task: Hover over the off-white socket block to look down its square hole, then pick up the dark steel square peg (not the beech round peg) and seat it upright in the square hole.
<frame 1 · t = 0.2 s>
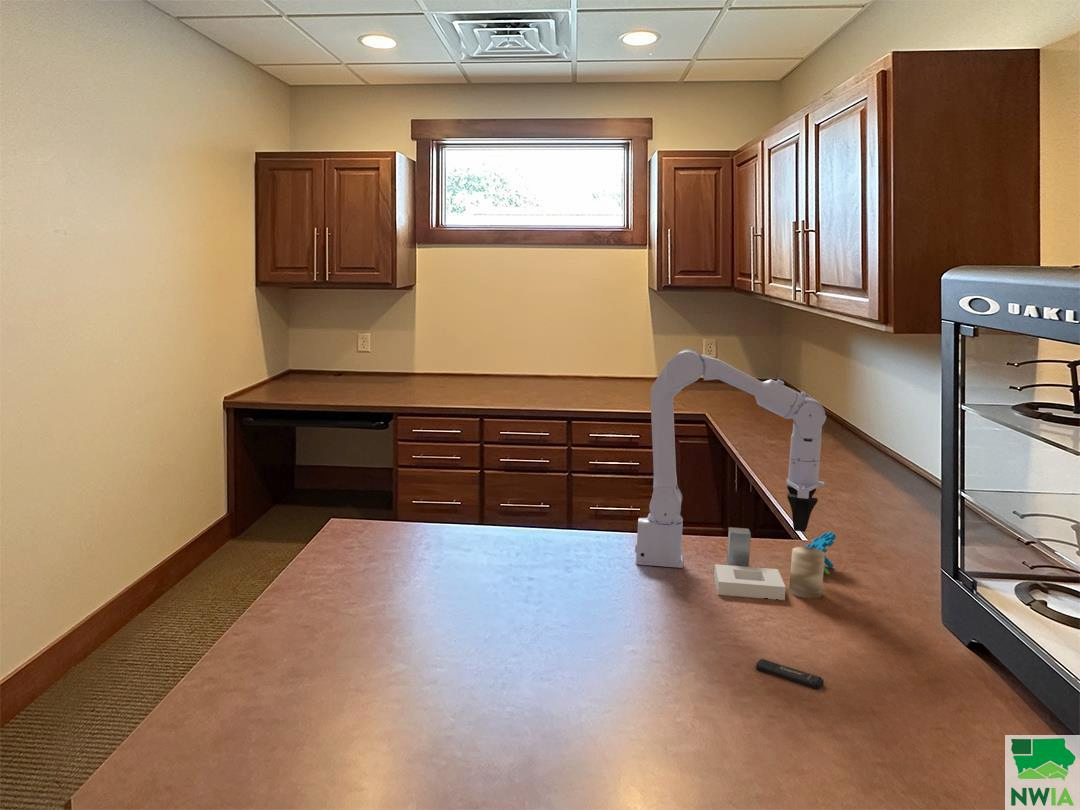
hand: (799, 525, 156), 10 cm above the worktop, tool pointing down, fingers open, 7 cm apart
round peg: (805, 592, 147), on the worktop
gear: (814, 568, 162), on the worktop
square peg: (737, 568, 160), on the worktop
socket block: (748, 587, 149), on the worktop
usb stick: (788, 680, 113), on the worktop
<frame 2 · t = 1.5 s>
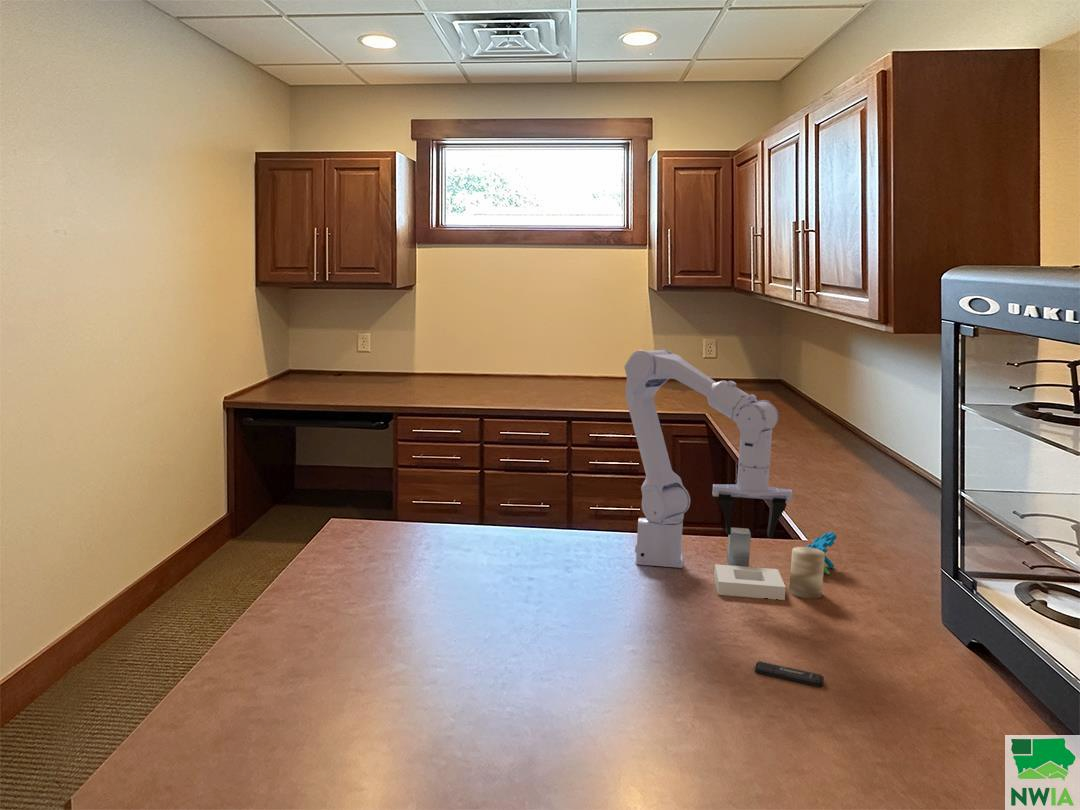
hand: (748, 535, 150), 10 cm above the worktop, tool pointing down, fingers open, 7 cm apart
nothing on the worktop moved.
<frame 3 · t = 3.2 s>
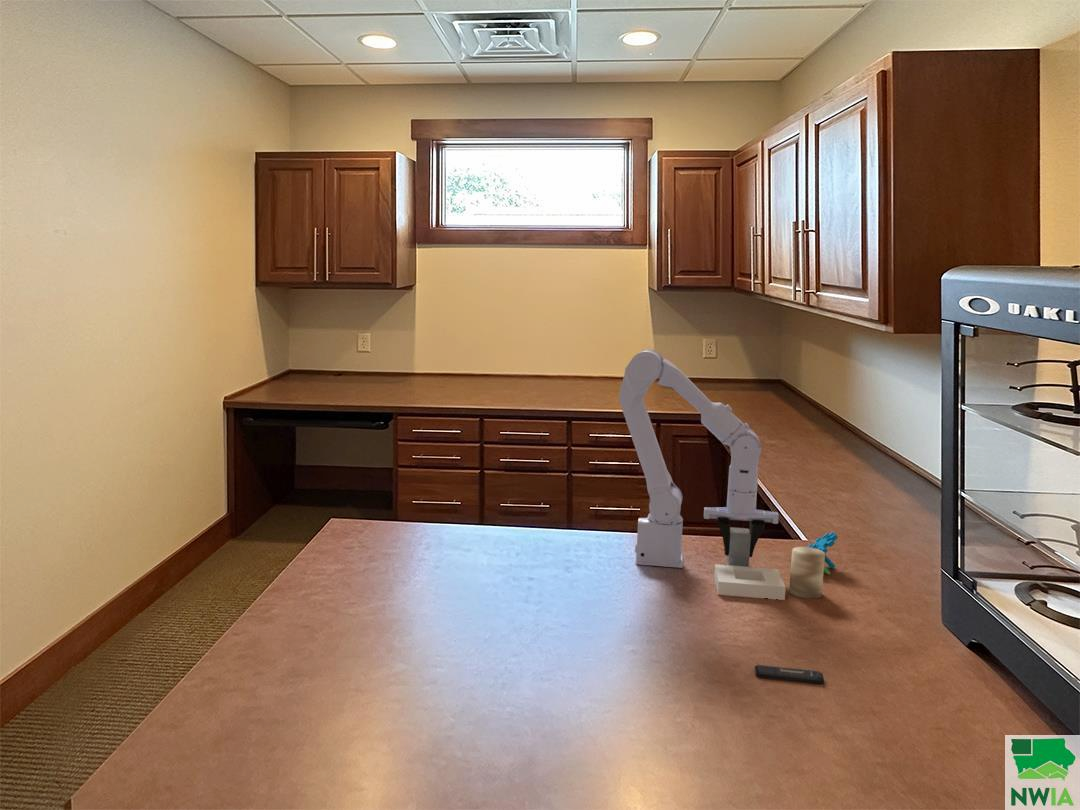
hand: (738, 554, 159), 3 cm above the worktop, tool pointing down, fingers closed on square peg, 4 cm apart
square peg: (737, 568, 160), on the worktop, touching gripper
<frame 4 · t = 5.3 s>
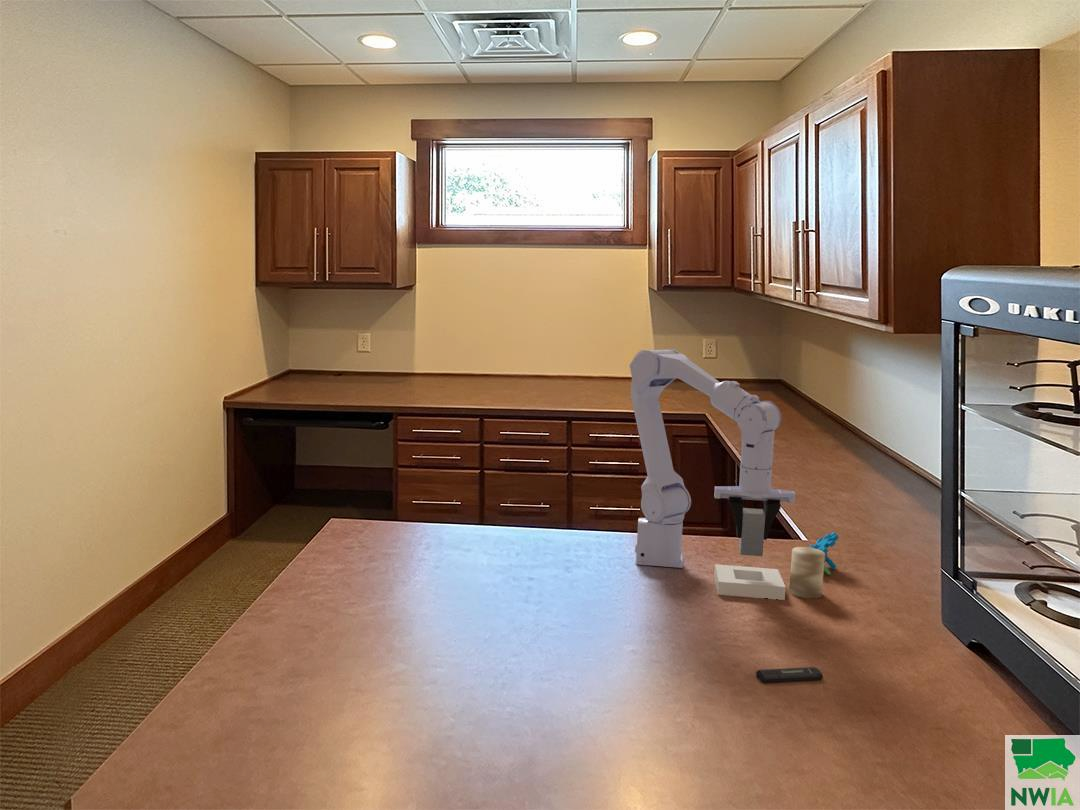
hand: (751, 537, 148), 10 cm above the worktop, tool pointing down, fingers closed on square peg, 4 cm apart
square peg: (750, 552, 148), point 7 cm above the worktop, touching gripper
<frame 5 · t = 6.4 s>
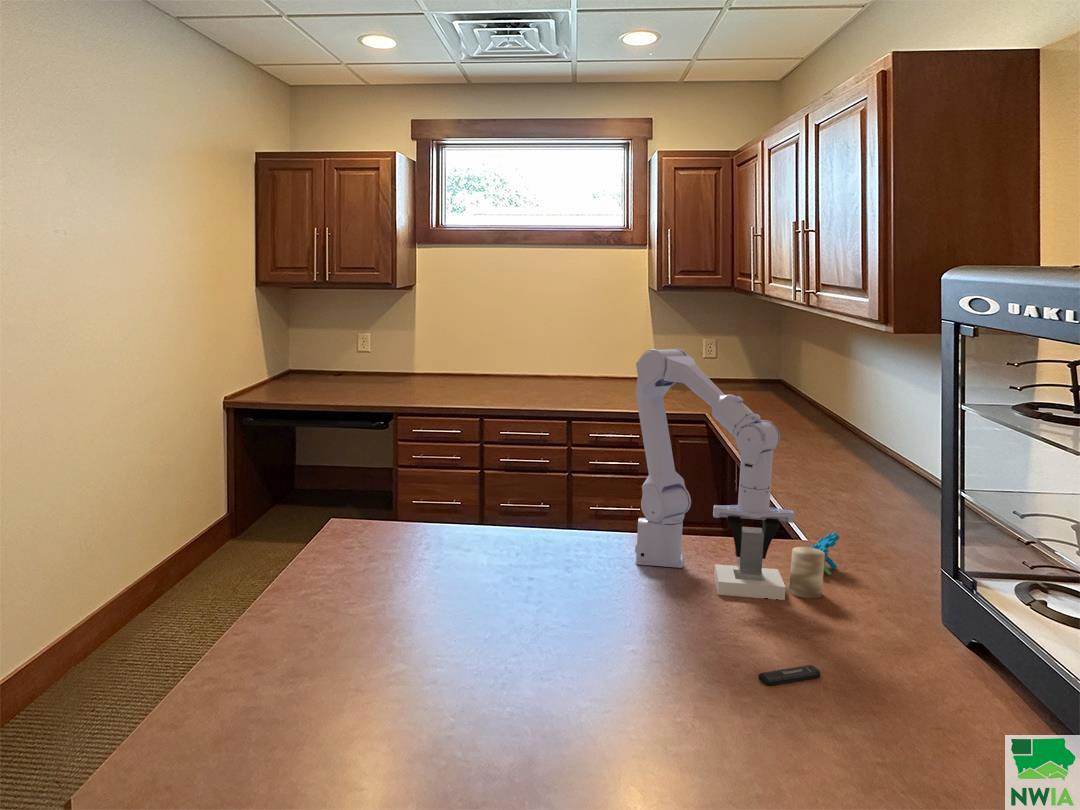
hand: (750, 556, 148), 6 cm above the worktop, tool pointing down, fingers closed on square peg, 4 cm apart
square peg: (749, 571, 149), point 3 cm above the worktop, touching gripper
when the fingers open (4 cm above the worktop, at t = 7.4 s): square peg stays where it is, resting in socket block.
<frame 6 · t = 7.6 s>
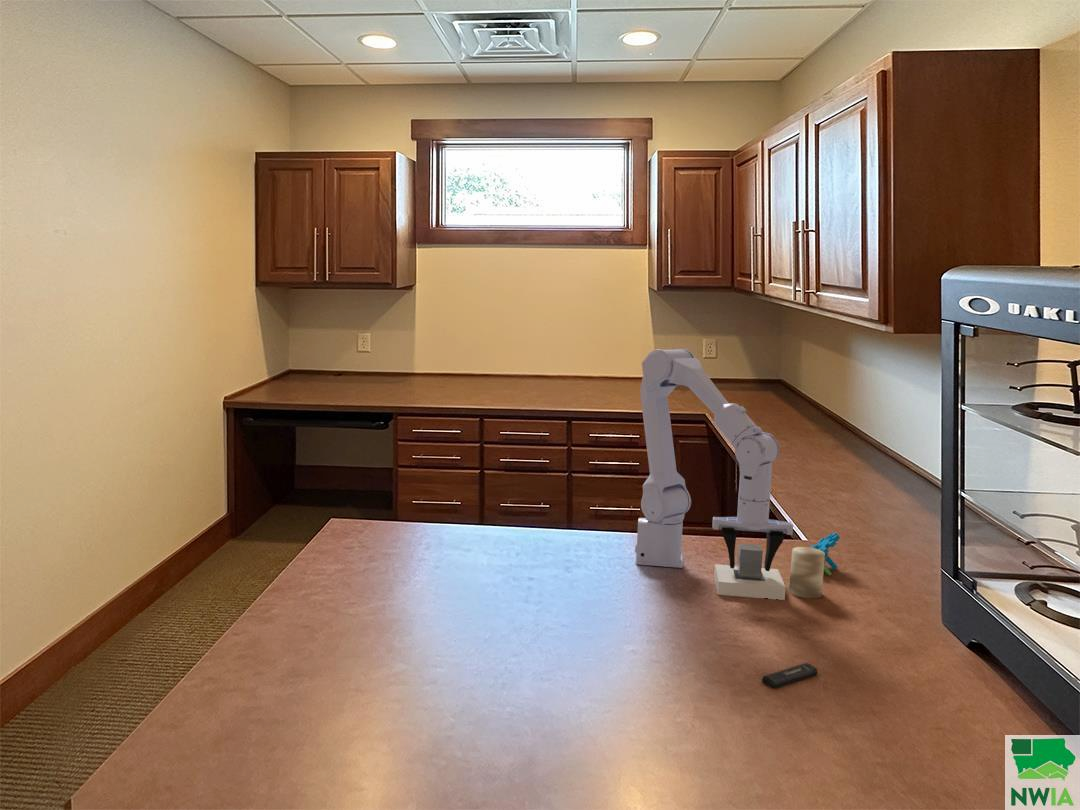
hand: (749, 568, 148), 4 cm above the worktop, tool pointing down, fingers open, 6 cm apart
square peg: (747, 587, 149), resting in socket block
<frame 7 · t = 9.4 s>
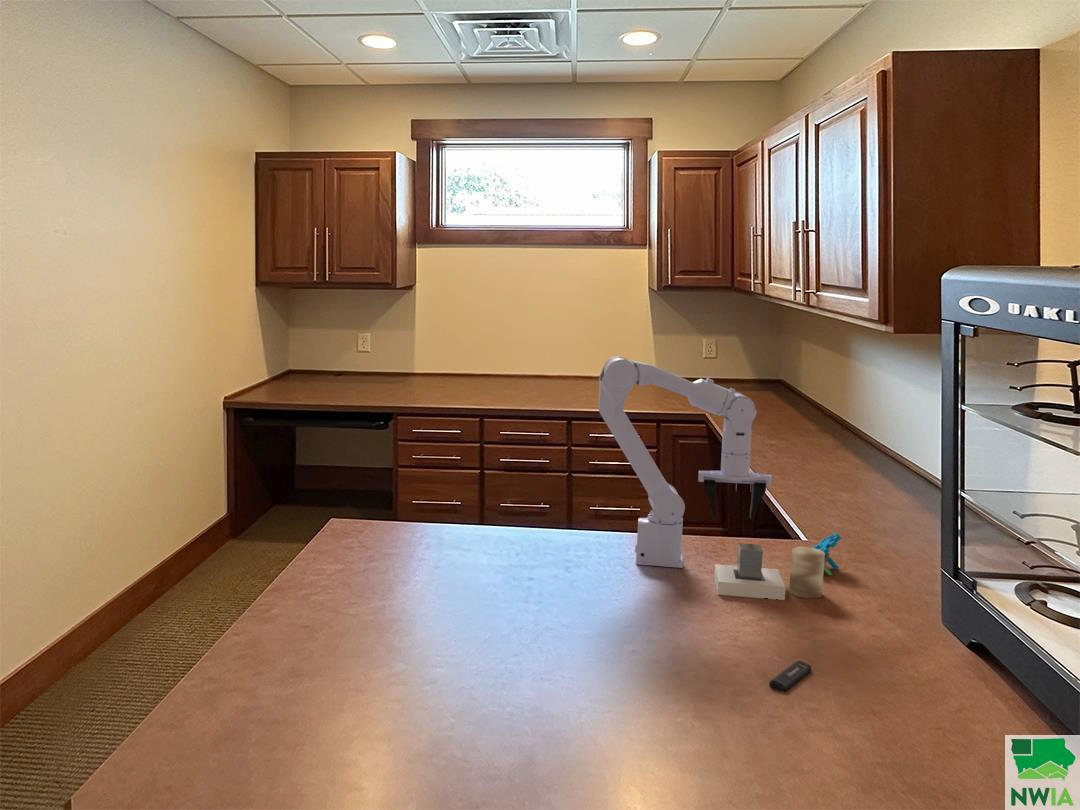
hand: (732, 517, 162), 10 cm above the worktop, tool pointing down, fingers open, 7 cm apart
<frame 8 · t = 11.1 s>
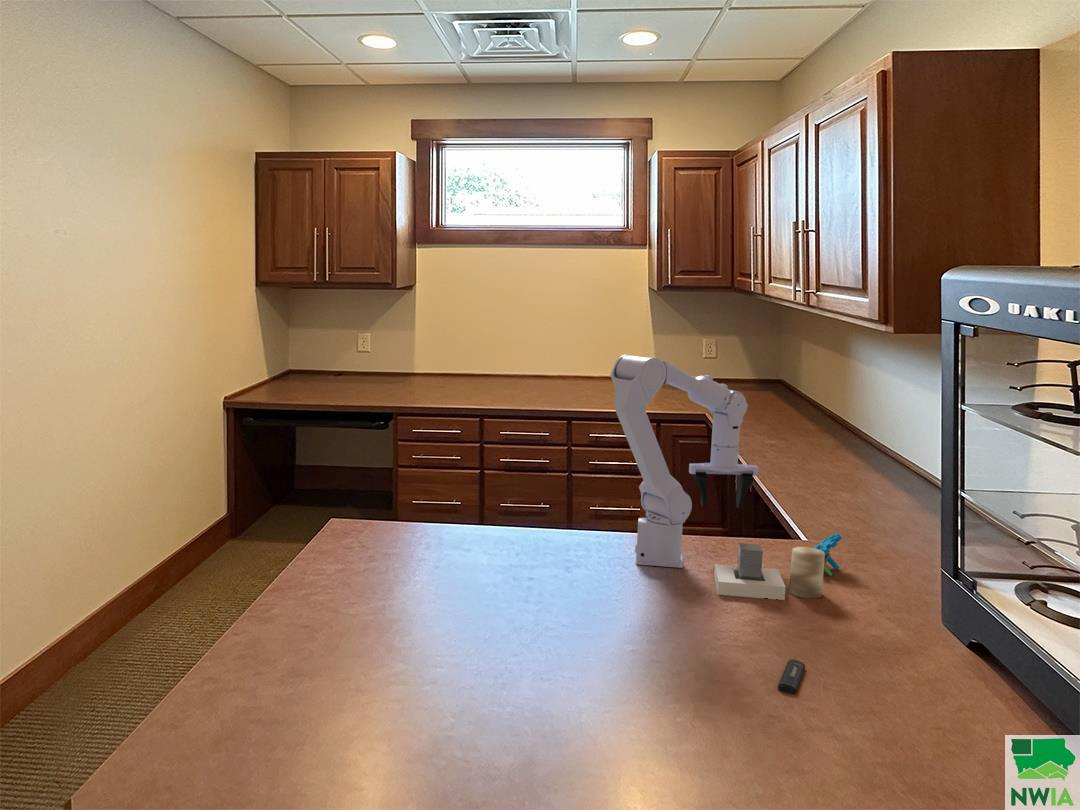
hand: (721, 506, 170), 10 cm above the worktop, tool pointing down, fingers open, 7 cm apart
at the end: square peg 0.2 cm off-centre on the socket block, point 0.0 cm above the socket block's base; square peg tilted 0°; the gripper is holding nothing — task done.
